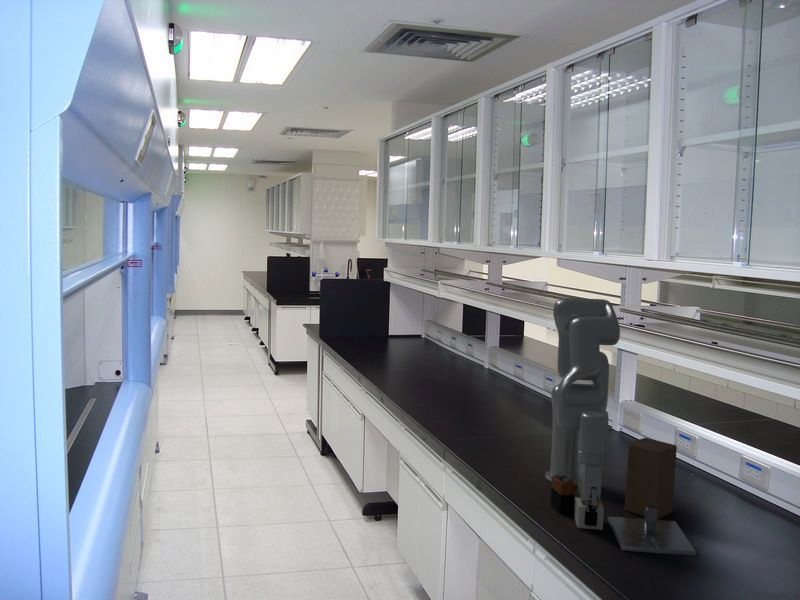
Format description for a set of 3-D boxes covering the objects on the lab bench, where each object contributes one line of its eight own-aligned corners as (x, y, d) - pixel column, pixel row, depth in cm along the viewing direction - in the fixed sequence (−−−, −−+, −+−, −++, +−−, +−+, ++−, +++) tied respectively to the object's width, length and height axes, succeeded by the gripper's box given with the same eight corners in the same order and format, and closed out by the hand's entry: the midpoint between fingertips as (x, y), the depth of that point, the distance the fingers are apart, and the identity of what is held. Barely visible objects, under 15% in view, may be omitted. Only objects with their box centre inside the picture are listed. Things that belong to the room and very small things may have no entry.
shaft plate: (608, 520, 192) (610, 493, 192) (674, 525, 191) (676, 497, 190) (621, 550, 175) (623, 520, 174) (695, 555, 173) (697, 525, 172)
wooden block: (672, 512, 200) (677, 445, 198) (656, 521, 193) (661, 452, 191) (640, 501, 207) (644, 436, 205) (623, 510, 200) (628, 443, 198)
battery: (563, 504, 203) (565, 471, 202) (574, 513, 197) (576, 479, 196) (549, 505, 202) (551, 472, 201) (560, 514, 196) (562, 480, 195)
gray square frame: (574, 517, 194) (575, 495, 193) (598, 519, 193) (599, 497, 192) (577, 527, 187) (578, 504, 187) (602, 529, 186) (604, 506, 186)
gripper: (573, 446, 197) (570, 506, 199) (582, 466, 180) (579, 532, 182) (600, 447, 196) (596, 508, 198) (612, 468, 179) (608, 534, 181)
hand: (588, 519), depth 190 cm, fingers closed on gray square frame, 6 cm apart
